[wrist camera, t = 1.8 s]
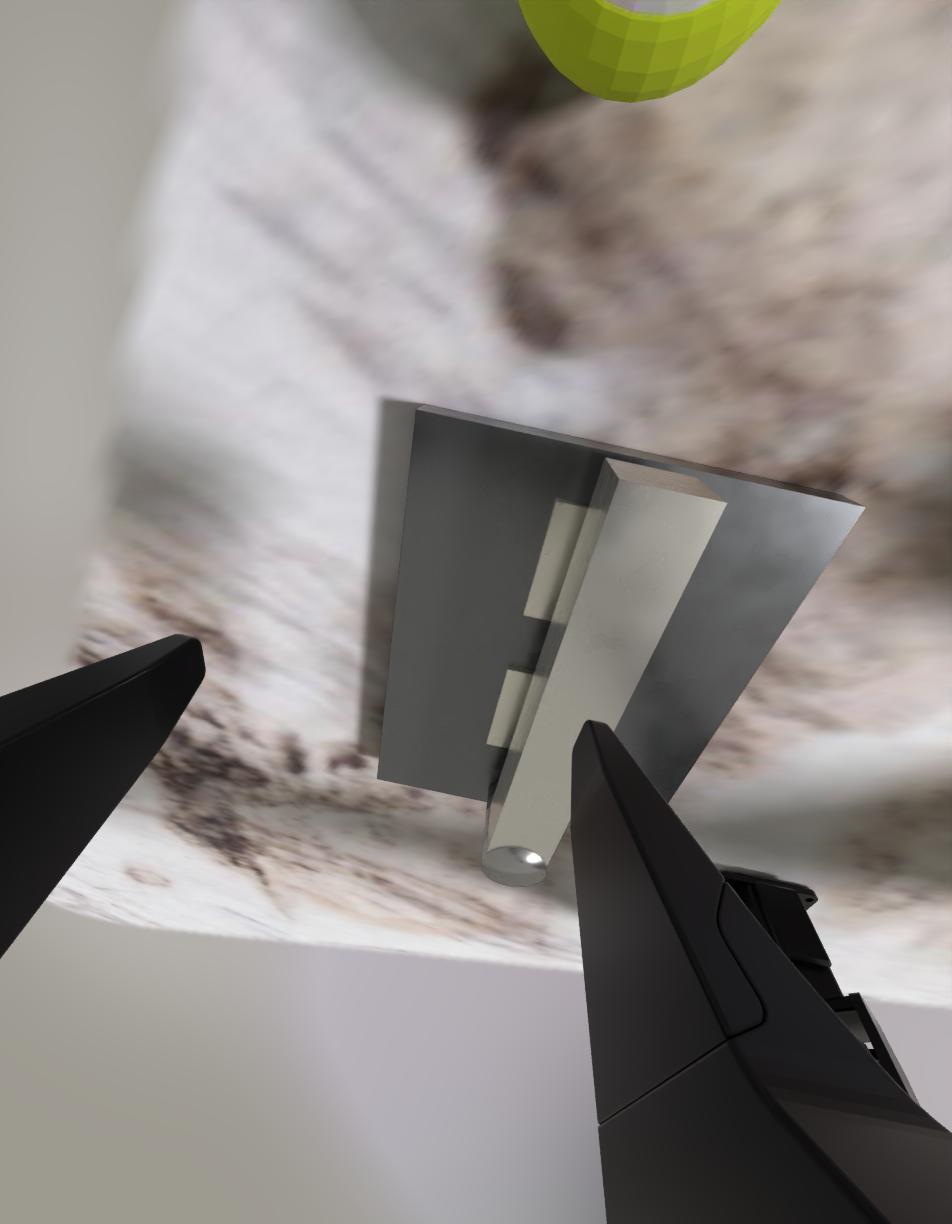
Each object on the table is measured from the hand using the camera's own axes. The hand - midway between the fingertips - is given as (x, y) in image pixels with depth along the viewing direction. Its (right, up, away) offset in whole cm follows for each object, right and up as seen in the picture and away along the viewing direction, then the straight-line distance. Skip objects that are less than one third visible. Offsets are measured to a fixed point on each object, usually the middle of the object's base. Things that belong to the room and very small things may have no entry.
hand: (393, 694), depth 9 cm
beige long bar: (+5, -2, +11) cm, 12 cm away
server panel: (+6, -1, +13) cm, 14 cm away
